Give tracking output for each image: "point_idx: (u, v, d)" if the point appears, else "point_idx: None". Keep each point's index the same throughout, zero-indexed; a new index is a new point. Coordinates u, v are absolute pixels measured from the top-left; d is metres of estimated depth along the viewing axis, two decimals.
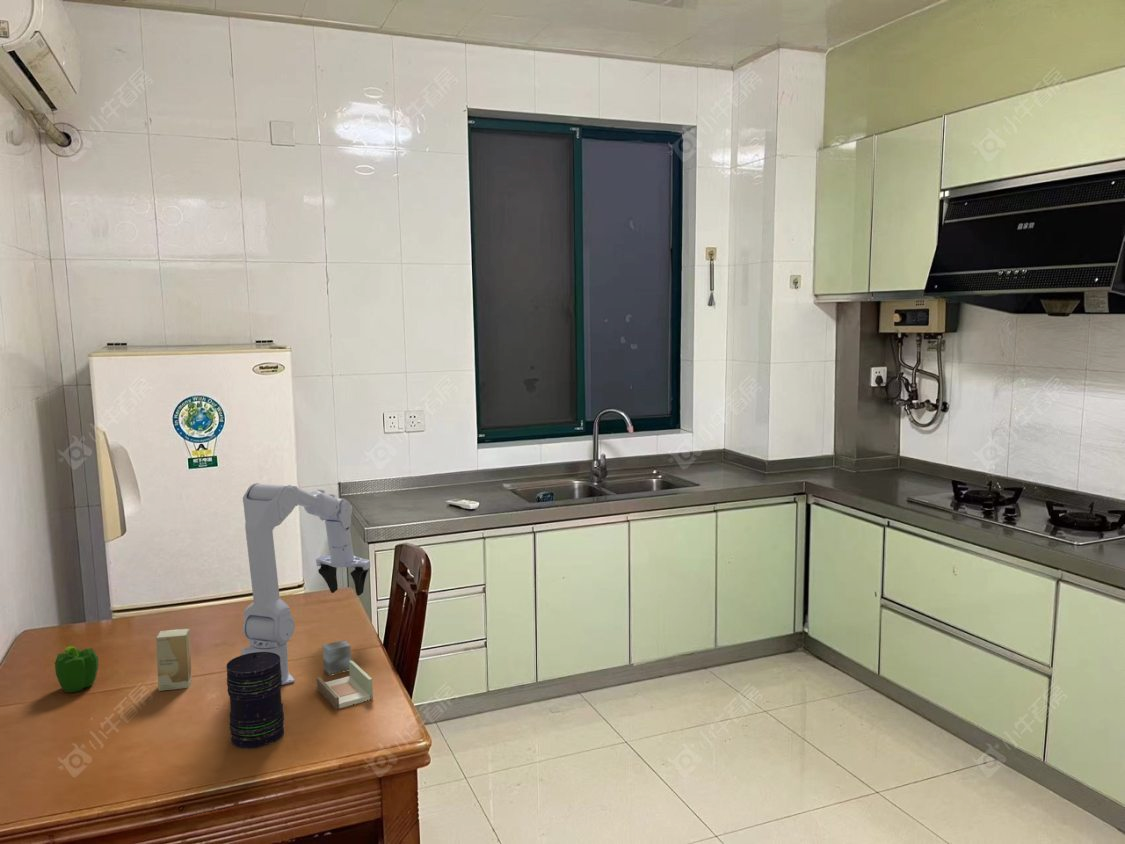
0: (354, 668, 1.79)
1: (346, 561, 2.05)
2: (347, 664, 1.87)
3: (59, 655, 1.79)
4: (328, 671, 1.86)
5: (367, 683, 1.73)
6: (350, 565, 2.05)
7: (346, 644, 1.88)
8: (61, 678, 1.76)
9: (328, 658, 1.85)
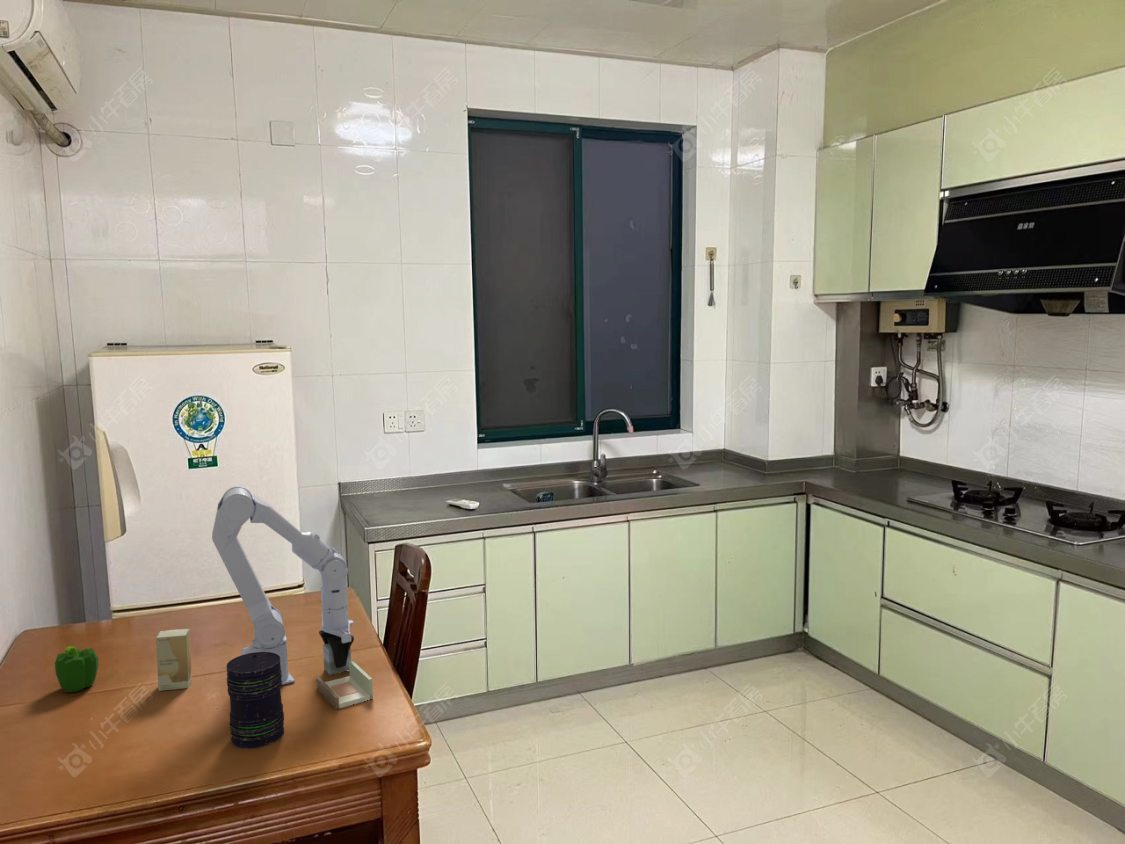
0: (354, 668, 1.79)
1: (331, 627, 1.84)
2: (347, 664, 1.87)
3: (59, 655, 1.79)
4: (328, 671, 1.86)
5: (367, 683, 1.73)
6: (332, 633, 1.83)
7: None
8: (61, 678, 1.76)
9: (328, 657, 1.85)
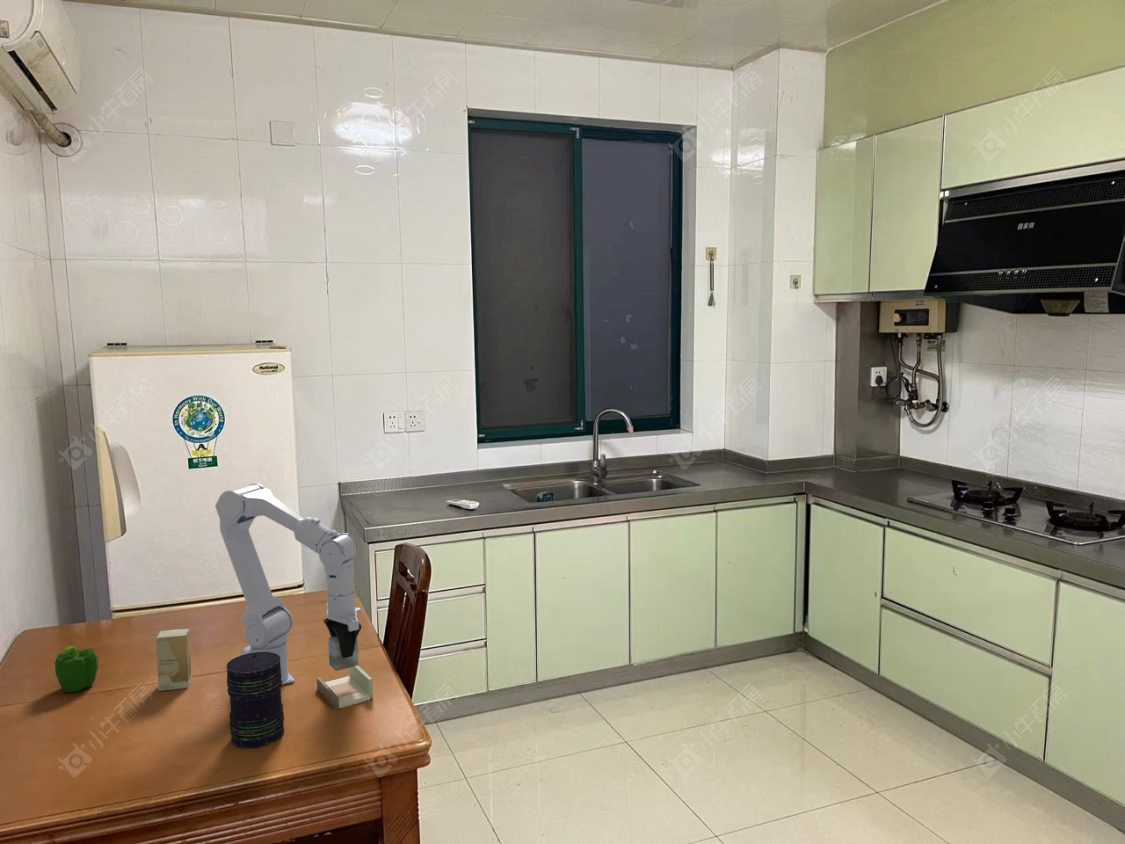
0: (354, 668, 1.79)
1: (337, 614, 1.72)
2: (354, 658, 1.75)
3: (59, 655, 1.79)
4: (334, 666, 1.74)
5: (367, 683, 1.73)
6: (338, 620, 1.71)
7: None
8: (61, 678, 1.76)
9: (334, 651, 1.73)
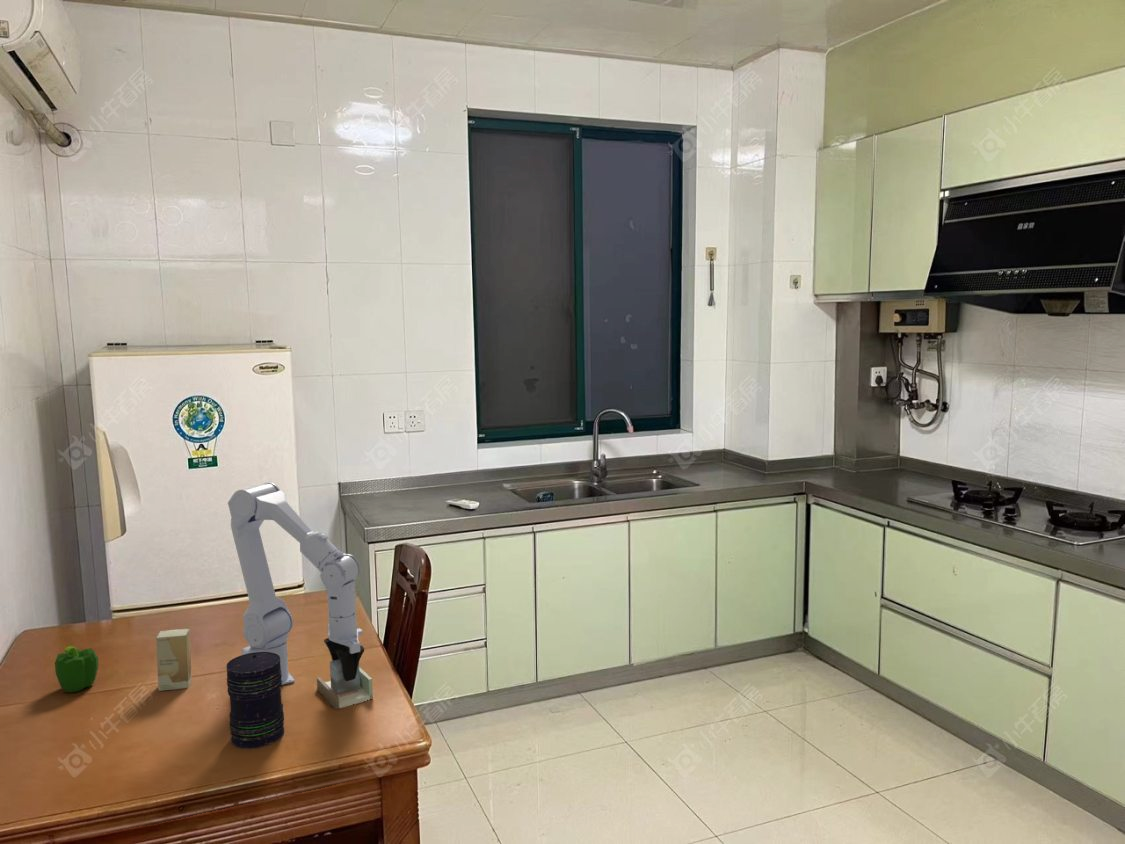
0: None
1: (339, 636, 1.71)
2: (356, 682, 1.75)
3: (59, 655, 1.79)
4: (335, 690, 1.73)
5: (367, 683, 1.73)
6: (339, 642, 1.70)
7: None
8: (61, 678, 1.76)
9: (335, 675, 1.72)
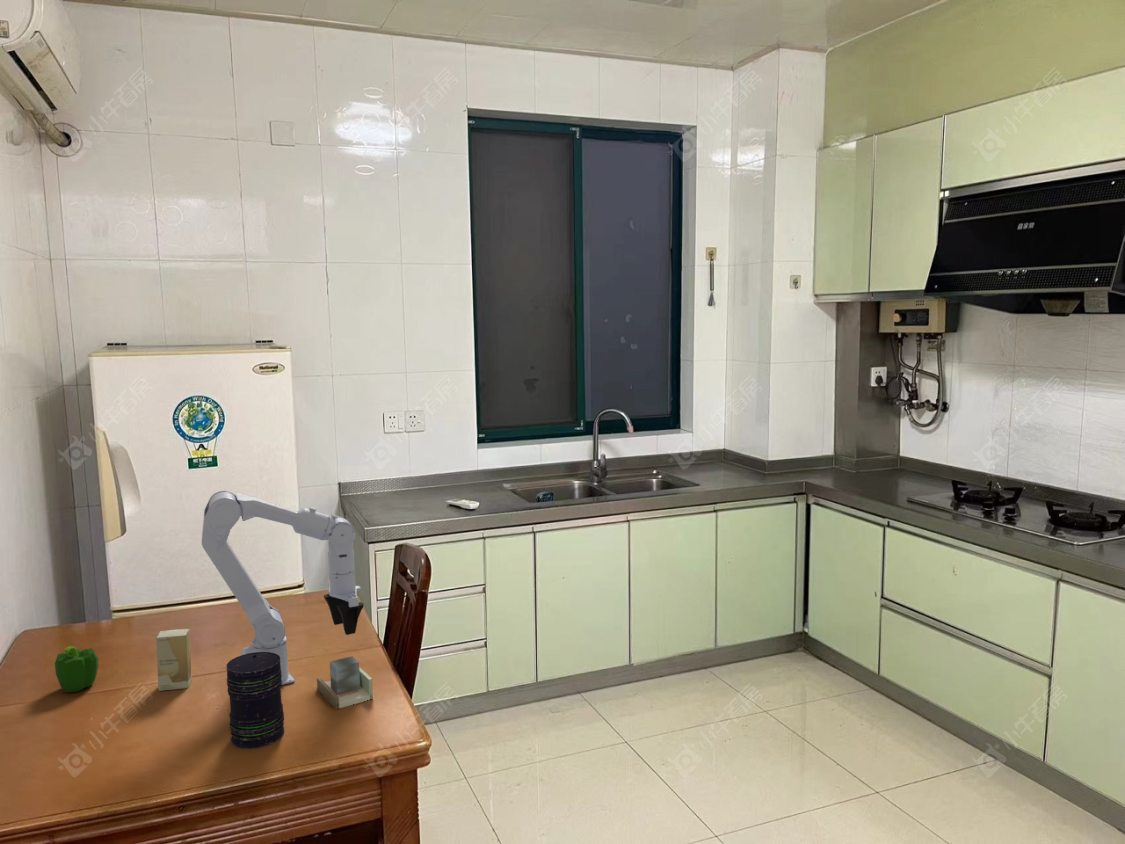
0: None
1: (338, 592, 1.84)
2: (356, 682, 1.75)
3: (59, 655, 1.79)
4: (335, 690, 1.73)
5: (367, 683, 1.73)
6: (339, 597, 1.83)
7: (354, 660, 1.76)
8: (61, 678, 1.76)
9: (335, 675, 1.72)
